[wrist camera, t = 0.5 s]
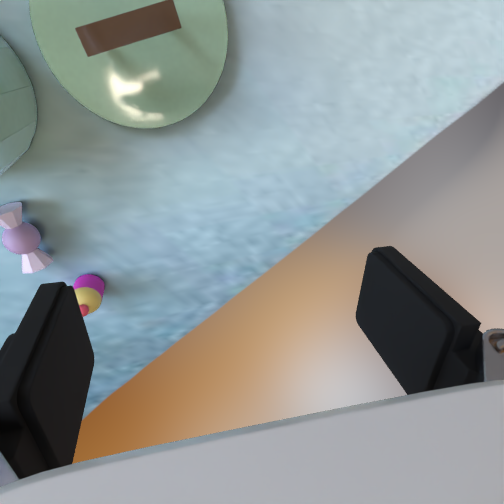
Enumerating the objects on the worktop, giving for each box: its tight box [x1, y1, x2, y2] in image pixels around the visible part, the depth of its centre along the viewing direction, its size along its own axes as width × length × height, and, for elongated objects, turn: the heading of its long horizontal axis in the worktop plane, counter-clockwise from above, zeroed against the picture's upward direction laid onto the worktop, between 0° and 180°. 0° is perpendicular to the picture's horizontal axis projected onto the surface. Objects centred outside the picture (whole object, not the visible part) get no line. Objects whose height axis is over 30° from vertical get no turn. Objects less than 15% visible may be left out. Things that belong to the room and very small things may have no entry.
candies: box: [0, 202, 105, 317], centre depth 33 cm, size 18×8×6 cm, turn 9°
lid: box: [29, 0, 228, 129], centre depth 24 cm, size 14×14×6 cm
